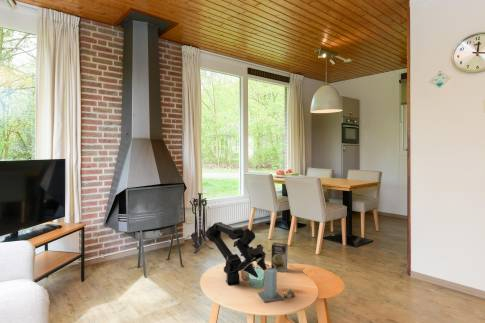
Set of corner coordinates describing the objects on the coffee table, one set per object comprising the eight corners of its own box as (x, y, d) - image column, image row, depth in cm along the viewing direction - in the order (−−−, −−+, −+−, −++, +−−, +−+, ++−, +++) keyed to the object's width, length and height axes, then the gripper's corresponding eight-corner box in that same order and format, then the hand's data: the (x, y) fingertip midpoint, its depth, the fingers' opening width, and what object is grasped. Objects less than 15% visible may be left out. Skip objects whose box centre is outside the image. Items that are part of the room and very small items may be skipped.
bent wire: (284, 298, 151) (284, 293, 151) (280, 293, 156) (280, 288, 156) (295, 297, 152) (295, 291, 152) (290, 292, 157) (290, 287, 157)
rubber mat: (264, 302, 146) (264, 301, 146) (257, 293, 156) (257, 292, 156) (283, 299, 149) (283, 298, 149) (275, 291, 159) (275, 290, 159)
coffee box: (270, 270, 187) (271, 244, 187) (273, 267, 193) (273, 242, 193) (285, 272, 184) (285, 246, 184) (287, 269, 190) (287, 243, 190)
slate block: (264, 296, 152) (264, 270, 152) (268, 292, 156) (268, 267, 156) (272, 298, 149) (272, 272, 149) (276, 295, 153) (276, 269, 153)
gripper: (243, 244, 150) (262, 271, 144) (263, 236, 166) (280, 260, 160) (231, 257, 155) (248, 283, 149) (251, 248, 170) (267, 271, 164)
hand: (262, 274), depth 155 cm, fingers open, 9 cm apart
